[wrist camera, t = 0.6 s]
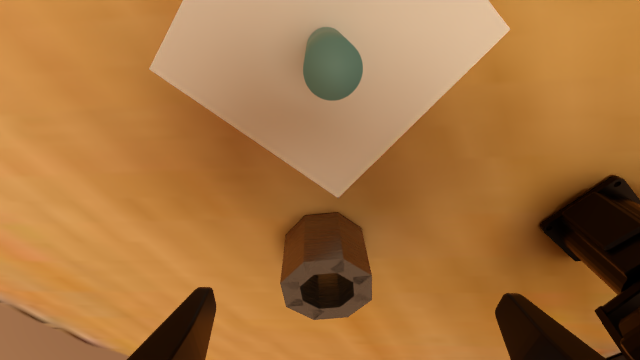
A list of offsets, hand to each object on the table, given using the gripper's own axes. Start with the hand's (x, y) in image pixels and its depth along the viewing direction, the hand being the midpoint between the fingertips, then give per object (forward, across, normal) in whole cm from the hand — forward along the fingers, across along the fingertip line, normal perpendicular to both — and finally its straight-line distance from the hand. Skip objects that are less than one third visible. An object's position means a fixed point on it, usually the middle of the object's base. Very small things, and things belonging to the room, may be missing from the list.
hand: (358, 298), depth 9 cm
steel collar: (+13, 0, +10) cm, 16 cm away
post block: (+13, +1, -6) cm, 14 cm away
